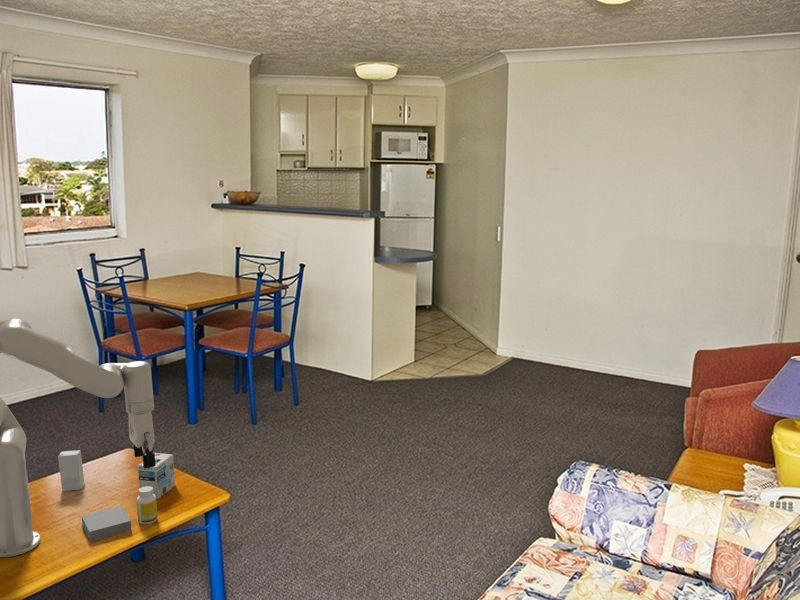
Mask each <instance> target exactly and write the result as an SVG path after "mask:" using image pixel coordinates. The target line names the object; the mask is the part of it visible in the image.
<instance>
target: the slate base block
mask: <svg viewBox="0 0 800 600" xmlns="http://www.w3.org/2000/svg"><path fill="white" fill-rule="evenodd" d="M81 525H82V528H83V530H84V532H85V534H86V537H88V540H89V542H91V543H92V542H95V541H98V540H99V541H100V540H103V539H105V538H109V537H112V536H116V535H120V534H123V533H127V532H132V531H133V530H132V520H131V519H130V517H129V516H128V514H127V513H126V510H125V509H124V508H123V507H122V505H121V506H116V507H113V508H108V509H104V510H100V511H95V512H92V513H88V514H85V515H81Z"/></svg>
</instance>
